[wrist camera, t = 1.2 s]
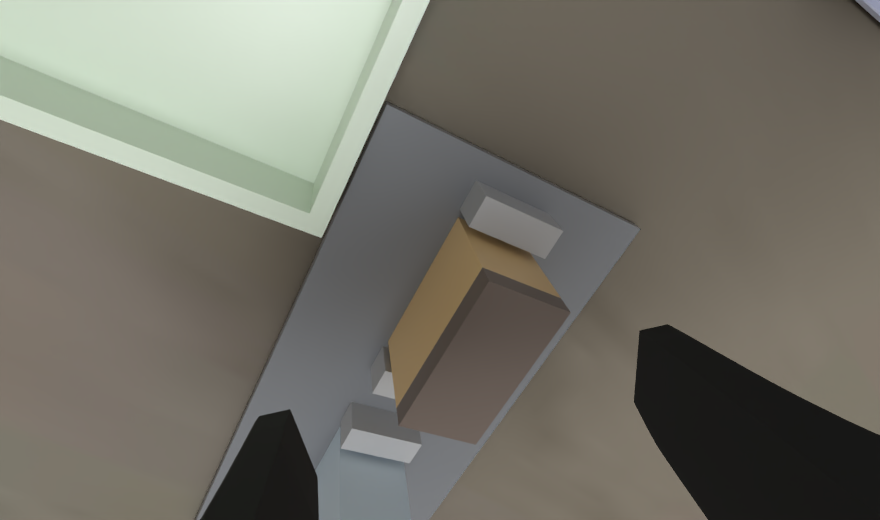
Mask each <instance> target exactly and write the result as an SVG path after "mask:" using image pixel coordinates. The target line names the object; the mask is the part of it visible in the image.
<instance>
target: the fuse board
mask: <svg viewBox="0 0 880 520" xmlns="http://www.w3.org/2000/svg"><path fill="white" fill-rule="evenodd" d="M458 217H459V218H461V219H464V220H466V222H467V224H468V226H469V227H471V228H473V229H475V230H478V231H480V232H482V233H485V234H487V235H489V236H492V237H494V238H497V239H499V240H501V241H504V242H506V243H508V244H511V245H513V246H515V247H518V248H520V249H522V250H525V251H527V252H530V253H531V255H532V256H533V258H534V259H535V261H536V262H537V264H538V265H539V267H540V268H541V270H542V271H543V273H544V274H545V275H546V277H547V278H548V280H549V281H550V283H551V284H552V286H553V287H554V289H555V290H556V292H557V293H558V294H559V296H560V297H561V299H562V300H563V302H564V303H565V305H566V306H567V308H568V309H569V311H570V312H571V313H570V315H569V316H568V317H567V319H566V320H565V322H564V323H563V324H562V326H561V327H560V329H559V330H558V331H557V333H556V334H555V335H554V337H553V338H552V340H551V341H550V342H549V344H548V345H547V347H546V348H545V349H544V351H543V352H542V354H541V355H540V356H539V358H538V359H537V360H536V362H535V363H534V365H533V366H532V367H531V369H530V370H529V372H528V373H527V374H526V376H525V377H524V379H523V380H522V381H521V383H520V384H519V385H518V387H517V388H516V390H515V391H514V392H513V394H512V395H511V397H510V398H509V399H508V401H507V402H506V404H505V405H504V406H503V408H502V409H501V410H500V412H499V413H498V415H497V416H496V417H495V419H494V420H493V422H492V423H491V424H490V426H489V427H488V429H487V430H486V431H485V433H484V434H483V435H482V437H481V438H480V440H479V441H478V442H477V444H476V445H474V444H470V443H466V442H462V441H458V440H454V439H450V438H446V437H442V436H438V435H433V434H429V433H425V432H421V431H417V430H413V429H409V428H405V427H401V426H399V425H398V417H397V409H396V401H395V393H394V385H393V377H392V369H391V361H390V353H389V345H388V341H389V339H390V337H391V335H392V333H393V332H394V330H395V328H396V326H397V325H398V323H399V321H400V319H401V317H402V316H403V314H404V312H405V310H406V309H407V307H408V305H409V303H410V302H411V300H412V298H413V296H414V294H415V293H416V291H417V289H418V287H419V286H420V284H421V282H422V280H423V279H424V277H425V275H426V273H427V271H428V270H429V268H430V266H431V264H432V263H433V261H434V259H435V257H436V255H437V254H438V252H439V250H440V248H441V247H442V245H443V243H444V241H445V240H446V238H447V236H448V234H449V232H450V231H451V229H452V227H453V225H454V224H455V222H456V220H457V218H458ZM639 231H640V228H639V227H638V226H637V225H635V224H634V223H632V222H630V221H628V220H626V219H624V218H622V217H620V216H618V215H616V214H614V213H612V212H610V211H608V210H606V209H604V208H602V207H600V206H598V205H595V204H593V203H591V202H589V201H587V200H585V199H583V198H581V197H579V196H577V195H575V194H573V193H571V192H569V191H567V190H565V189H563V188H561V187H559V186H557V185H555V184H553V183H551V182H549V181H547V180H545V179H543V178H541V177H539V176H537V175H535V174H533V173H531V172H529V171H527V170H525V169H523V168H521V167H519V166H517V165H515V164H512V163H510V162H508V161H506V160H504V159H502V158H500V157H498V156H496V155H494V154H492V153H490V152H488V151H486V150H484V149H482V148H480V147H478V146H476V145H474V144H472V143H470V142H468V141H466V140H464V139H462V138H460V137H458V136H456V135H454V134H452V133H450V132H448V131H446V130H444V129H442V128H440V127H438V126H436V125H434V124H431V123H429V122H427V121H425V120H423V119H421V118H419V117H417V116H415V115H413V114H411V113H409V112H407V111H405V110H403V109H401V108H399V107H397V106H395V105H393V104H391V103H389V102H387V101H386V102H385V104H384V106H383V108H382V111H381V113H380V115H379V117H378V119H377V122H376V124H375V126H374V128H373V130H372V133H371V135H370V137H369V139H368V141H367V144H366V146H365V148H364V150H363V152H362V154H361V157H360V159H359V161H358V163H357V165H356V168H355V170H354V172H353V174H352V176H351V179H350V181H349V183H348V185H347V187H346V189H345V192H344V194H343V196H342V198H341V200H340V203H339V205H338V207H337V209H336V211H335V214H334V216H333V218H332V220H331V222H330V224H329V227H328V229H327V231H326V233H325V235H324V238H323V240H322V242H321V244H320V246H319V249H318V251H317V253H316V255H315V257H314V260H313V262H312V264H311V266H310V268H309V270H308V273H307V275H306V277H305V279H304V281H303V284H302V286H301V288H300V290H299V292H298V295H297V297H296V299H295V301H294V303H293V305H292V308H291V310H290V312H289V314H288V316H287V319H286V321H285V323H284V325H283V327H282V330H281V332H280V334H279V336H278V338H277V341H276V343H275V345H274V347H273V349H272V351H271V354H270V356H269V358H268V360H267V362H266V365H265V367H264V369H263V371H262V373H261V376H260V378H259V380H258V382H257V384H256V386H255V389H254V391H253V393H252V395H251V397H250V400H249V402H248V404H247V406H246V408H245V411H244V413H243V415H242V417H241V419H240V422H239V424H238V426H237V428H236V430H235V432H234V435H233V437H232V439H231V441H230V443H229V446H228V448H227V450H226V452H225V454H224V457H223V459H222V461H221V463H220V465H219V467H218V470H217V472H216V474H215V476H214V478H213V481H212V483H211V485H210V487H209V489H208V492H207V494H206V496H205V498H204V500H203V502H202V505H201V507H200V509H199V511H198V513H197V516H196V518H195V520H200V519H201V517H202V516H203V514H204V512H205V510H206V509H207V507H208V505H209V504H210V502H211V500H212V499H213V497H214V495H215V493H216V492H217V490H218V488H219V487H220V485H221V483H222V481H223V480H224V478H225V476H226V474H227V472H228V471H229V469H230V467H231V465H232V463H233V462H234V460H235V458H236V456H237V454H238V452H239V450H240V449H241V447H242V445H243V443H244V441H245V439H246V437H247V436H248V434H249V432H250V430H251V428H252V426H253V424H254V423H255V421H256V420H257V418H258V417H259V416H262V415H266V414H271V413H275V412H280V411H284V410H289V409H290V410H291V412H292V415H293V417H294V420H295V422H296V425H297V427H298V429H299V432H300V434H301V437H302V439H303V442H304V444H305V447H306V449H307V452H308V454H309V457H310V459H311V462H312V464H313V467H314V469H315V470H316V468H317V466H318V465H319V463H320V461H321V459H322V458H323V456H324V454H325V452H326V450H327V449H328V447H329V445H330V443H331V442H332V440H333V438H334V436H335V434H336V433H337V431H338V429H339V427H340V426H341V449H345V450H350V451H355V452H359V453H364V454H368V455H373V456H378V457H382V458H387V459H392V460H396V461H401V462H404V467H405V475H406V483H407V491H408V499H409V507H410V515H411V520H429V519H430V518H431V516H432V515H433V514H434V512H435V511H436V509H437V508H438V507H439V505H440V504H441V503H442V501H443V500H444V498H445V497H446V496H447V494H448V493H449V492H450V490H451V489H452V487H453V486H454V485H455V483H456V482H457V481H458V479H459V478H460V476H461V475H462V474H463V472H464V471H465V470H466V468H467V467H468V465H469V464H470V463H471V461H472V460H473V459H474V457H475V456H476V454H477V453H478V452H479V450H480V449H481V448H482V446H483V445H484V443H485V442H486V441H487V439H488V438H489V437H490V435H491V434H492V433H493V431H494V430H495V428H496V427H497V426H498V424H499V423H500V422H501V420H502V419H503V417H504V416H505V415H506V413H507V412H508V411H509V409H510V408H511V406H512V405H513V404H514V402H515V401H516V400H517V398H518V397H519V395H520V394H521V393H522V391H523V390H524V389H525V387H526V386H527V384H528V383H529V382H530V380H531V379H532V378H533V376H534V375H535V373H536V372H537V371H538V369H539V368H540V367H541V365H542V364H543V362H544V361H545V360H546V358H547V357H548V356H549V354H550V353H551V351H552V350H553V349H554V347H555V346H556V345H557V343H558V342H559V340H560V339H561V338H562V336H563V335H564V334H565V332H566V331H567V330H568V328H569V327H570V325H571V324H572V323H573V321H574V320H575V319H576V317H577V316H578V314H579V313H580V312H581V310H582V309H583V308H584V306H585V305H586V303H587V302H588V301H589V299H590V298H591V297H592V295H593V294H594V292H595V291H596V290H597V288H598V287H599V286H600V284H601V283H602V281H603V280H604V279H605V277H606V276H607V275H608V273H609V272H610V270H611V269H612V268H613V266H614V265H615V264H616V262H617V261H618V259H619V258H620V257H621V255H622V254H623V253H624V251H625V250H626V248H627V247H628V246H629V244H630V243H631V242H632V240H633V239H634V237H635V236H636V235H637V233H638V232H639Z"/></svg>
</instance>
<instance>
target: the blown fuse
mask: <svg viewBox="0 0 880 520" xmlns="http://www.w3.org/2000/svg"><path fill="white" fill-rule="evenodd" d="M570 313H571V312H570V311H569V309H568V308H567V306H566V305H565V303H564V302H563V300H562V299H561V297H560V296H559V294H558V293H557V292H556V290H555V289H554V287H553V286H552V284H551V283H550V281H549V280H548V278H547V277H546V275H545V274H544V273H543V271H542V270H541V268H540V267H539V265H538V264H537V262H536V261H535V259H534V258H533V256H532V255H531V253H530V252H527V251H525V250H522V249H520V248H518V247H515V246H513V245H511V244H508V243H506V242H504V241H501V240H499V239H497V238H494V237H492V236H489V235H487V234H485V233H482V232H480V231H478V230H475V229H473V228H471V227H469V226H468V224H467V222H466V220H464V219H461V218H459V217H458V218H457V220H456V222H455V224H454V225H453V227H452V229H451V231H450V232H449V234H448V236H447V238H446V240H445V241H444V243H443V245H442V247H441V248H440V250H439V252H438V254H437V255H436V257H435V259H434V261H433V263H432V264H431V266H430V268H429V270H428V271H427V273H426V275H425V277H424V279H423V280H422V282H421V284H420V286H419V287H418V289H417V291H416V293H415V294H414V296H413V298H412V300H411V302H410V303H409V305H408V307H407V309H406V310H405V312H404V314H403V316H402V317H401V319H400V321H399V323H398V325H397V326H396V328H395V330H394V332H393V333H392V335H391V337H390V339H389V341H388V345H389V353H390V361H391V369H392V377H393V385H394V393H395V401H396V409H397V417H398V425H399V426H401V427H405V428H409V429H413V430H417V431H421V432H425V433H429V434H433V435H438V436H442V437H446V438H450V439H454V440H458V441H462V442H466V443H470V444H474V445H476V444H477V442H478V441H479V440H480V438H481V437H482V435H483V434H484V433H485V431H486V430H487V429H488V427H489V426H490V424H491V423H492V422H493V420H494V419H495V417H496V416H497V415H498V413H499V412H500V410H501V409H502V408H503V406H504V405H505V404H506V402H507V401H508V399H509V398H510V397H511V395H512V394H513V392H514V391H515V390H516V388H517V387H518V385H519V384H520V383H521V381H522V380H523V379H524V377H525V376H526V374H527V373H528V372H529V370H530V369H531V367H532V366H533V365H534V363H535V362H536V360H537V359H538V358H539V356H540V355H541V354H542V352H543V351H544V349H545V348H546V347H547V345H548V344H549V342H550V341H551V340H552V338H553V337H554V335H555V334H556V333H557V331H558V330H559V329H560V327H561V326H562V324H563V323H564V322H565V320H566V319H567V317H568V316H569V315H570Z"/></svg>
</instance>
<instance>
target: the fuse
mask: <svg viewBox="0 0 880 520" xmlns="http://www.w3.org/2000/svg"><path fill="white" fill-rule="evenodd" d="M315 472H316V474H317V477H318V505H319V520H411V515H410V507H409V499H408V491H407V483H406V475H405V467H404V462H401V461H396V460H392V459H387V458H382V457H378V456H373V455H368V454H364V453H359V452H355V451H350V450H345V449H341V426H340V427H339V429H338V431H337V433H336V434H335V436H334V438H333V440H332V442H331V443H330V445H329V447H328V449H327V450H326V452H325V454H324V456H323V458H322V459H321V461H320V463H319V465H318V466H317V468H316V470H315Z"/></svg>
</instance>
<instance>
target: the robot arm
mask: <svg viewBox="0 0 880 520" xmlns="http://www.w3.org/2000/svg"><path fill="white" fill-rule="evenodd" d="M855 1H856V2H857V3H859V4H860V5H861V6H862V7H863V8H864V9H865V10H866V11H867V12H869V13H870V14H871V15H872V16H873V17H874V18H875V19H876V20H877V21H879V22H880V0H855ZM634 403H635V405H636V407H637V409H638V411H639V413H640V415H641V417H642V419H643V421H644V423H645V424H646V426H647V428H648V430H649V432H650V434H651V436H652V437H653V439H654V441H655V443H656V445H657V446H658V448H659V449H660V451H661V452H662V454H663V455H664V457H665V458H666V460H667V461H668V463H669V464H670V466H671V467H672V468H673V470H674V471H675V473H676V474H677V476H678V477H679V479H680V480H681V482H682V483H683V484H684V486H685V487H686V489H687V490H688V492H689V493H690V494H691V496H692V497H693V499H694V500H695V502H696V503H697V504H698V506H699V507H700V509H701V510H702V512H703V513H704V514H705V516H706V517H707V519H708V520H880V435H878V434H875V433H873V432H871V431H869V430H867V429H864V428H862V427H860V426H858V425H856V424H854V423H851V422H849V421H847V420H845V419H843V418H841V417H839V416H837V415H835V414H833V413H831V412H829V411H827V410H825V409H823V408H821V407H819V406H817V405H814V404H812V403H810V402H808V401H806V400H804V399H802V398H801V397H799V396H797V395H795V394H793V393H791V392H789V391H787V390H785V389H783V388H781V387H780V386H778V385H776V384H774V383H772V382H770V381H768V380H766V379H765V378H763V377H761V376H759V375H757V374H755V373H754V372H752V371H750V370H748V369H746V368H745V367H743V366H741V365H739V364H737V363H736V362H734V361H732V360H730V359H729V358H727V357H725V356H723V355H722V354H720V353H718V352H716V351H715V350H713V349H711V348H709V347H708V346H706V345H704V344H702V343H701V342H699V341H697V340H695V339H693V338H692V337H690V336H688V335H686V334H685V333H683V332H681V331H679V330H677V329H675V328H673V327H672V326H670V325H668V324H667V325H663V326H658V327H654V328H649V329H645V330H641V331H640V333H639V345H638V358H637V370H636V383H635V395H634ZM200 520H319V505H318V477H317V474H316V472H315V469H314V467H313V464H312V462H311V459H310V457H309V454H308V452H307V449H306V447H305V444H304V442H303V439H302V437H301V434H300V432H299V429H298V427H297V425H296V422H295V420H294V417H293V415H292V412H291V410H290V409H289V410H284V411H280V412H275V413H271V414H266V415H262V416H259V417H258V418H257V420H256V421H255V423H254V424H253V426H252V428H251V430H250V432H249V434H248V436H247V437H246V439H245V441H244V443H243V445H242V447H241V449H240V450H239V452H238V454H237V456H236V458H235V460H234V462H233V463H232V465H231V467H230V469H229V471H228V472H227V474H226V476H225V478H224V480H223V481H222V483H221V485H220V487H219V488H218V490H217V492H216V493H215V495H214V497H213V499H212V500H211V502H210V504H209V505H208V507H207V509H206V510H205V512H204V514H203V516H202V517H201V519H200Z"/></svg>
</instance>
